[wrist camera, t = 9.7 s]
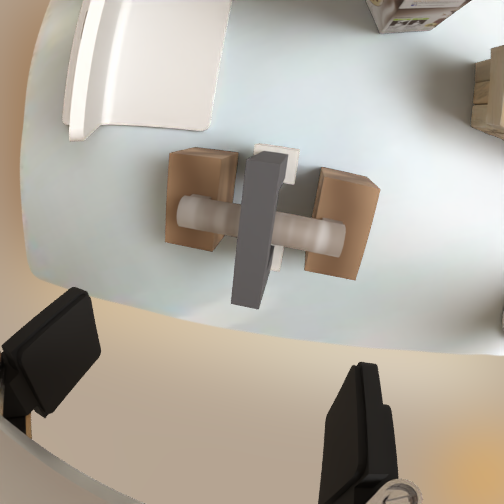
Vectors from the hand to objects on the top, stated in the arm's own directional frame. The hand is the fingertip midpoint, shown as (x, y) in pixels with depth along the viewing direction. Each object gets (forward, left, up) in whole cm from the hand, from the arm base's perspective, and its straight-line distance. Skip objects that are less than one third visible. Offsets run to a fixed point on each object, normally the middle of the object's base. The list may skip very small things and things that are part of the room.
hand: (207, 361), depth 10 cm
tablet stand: (+16, -18, -23) cm, 33 cm away
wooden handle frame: (0, 0, -22) cm, 22 cm away
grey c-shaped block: (0, 0, -20) cm, 20 cm away
